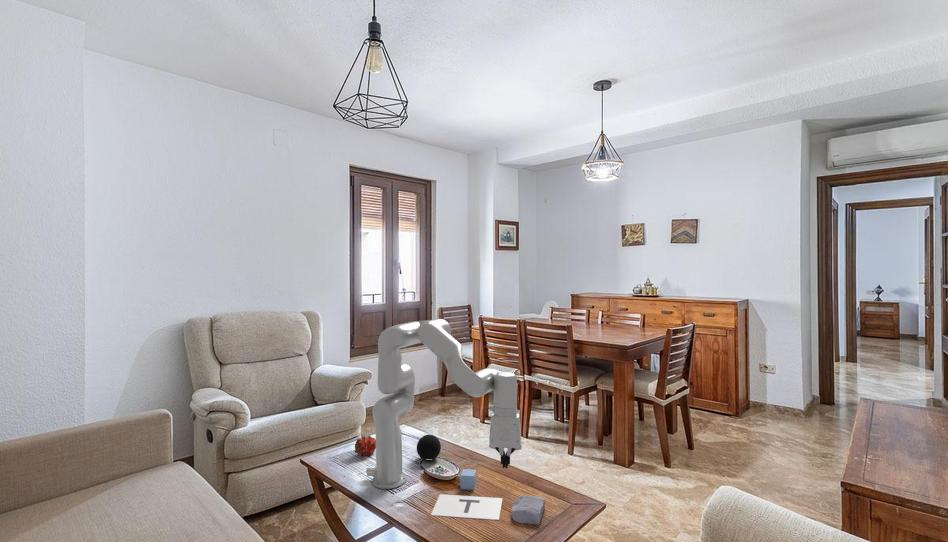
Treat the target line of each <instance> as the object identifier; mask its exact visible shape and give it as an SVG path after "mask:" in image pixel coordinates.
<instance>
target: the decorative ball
mask: <svg viewBox="0 0 948 542" xmlns="http://www.w3.org/2000/svg"><path fill="white" fill-rule="evenodd" d="M441 449H442V445H441V442H440V440H439V438H438V437H437V436H435V435H433V434H424V435H423V436H421V437H420V438H419V440H418V441H417V444H416V452H417V454H418V456H419V457H420V459H422V460H424V461H426V460H425V459H433V460H435V459H437V457H438V456H439V455H440V453H441Z"/></svg>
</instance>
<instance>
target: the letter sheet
mask: <svg viewBox="0 0 948 542" xmlns="http://www.w3.org/2000/svg"><path fill="white" fill-rule="evenodd" d="M502 504H503V497H491V496H490V497H489V496H474V495H473V496H472V495H471V496H470V495H458V494H455V495H454V494H442V493H441V494H439V495H438V497H437V499H436V502H435V504H434V507H433V509H432V511H431V513H430V516H431V517H432V516H433V517H434V516H435V517H449V518H461V519H477V520H491V521H492V520H493V521H500V517H501V510H502Z"/></svg>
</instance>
